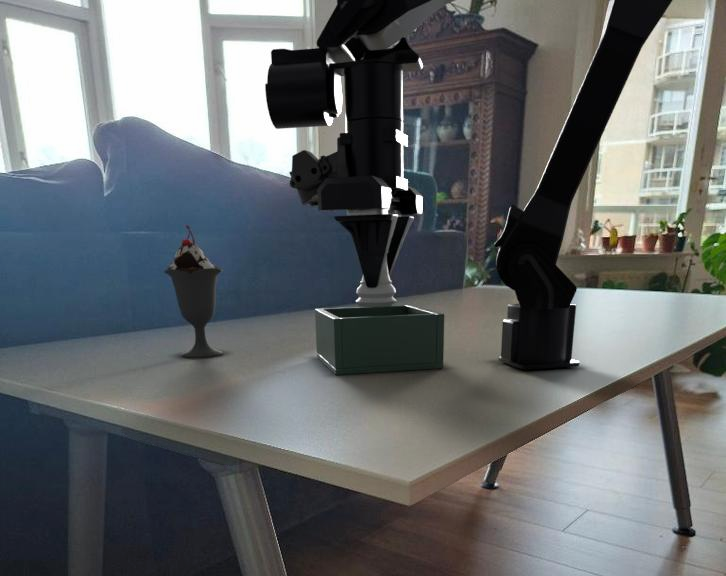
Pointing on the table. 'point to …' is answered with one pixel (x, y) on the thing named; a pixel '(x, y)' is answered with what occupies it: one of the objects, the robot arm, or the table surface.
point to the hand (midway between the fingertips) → (376, 286)
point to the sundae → (195, 292)
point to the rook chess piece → (377, 292)
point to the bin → (379, 339)
